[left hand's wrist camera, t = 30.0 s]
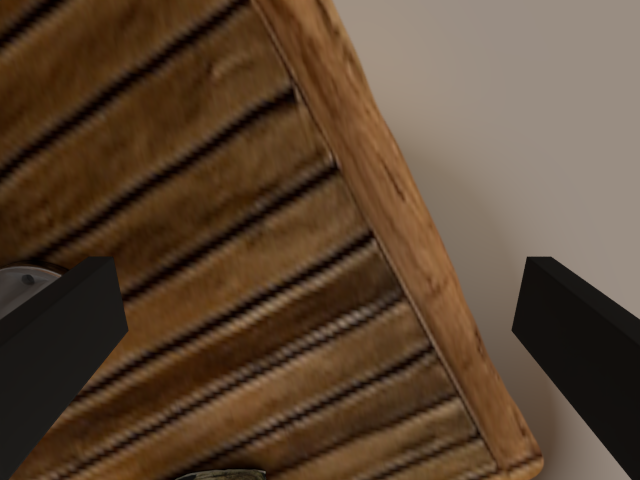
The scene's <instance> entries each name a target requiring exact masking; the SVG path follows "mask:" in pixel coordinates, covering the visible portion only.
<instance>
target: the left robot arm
mask: <svg viewBox="0 0 640 480" xmlns="http://www.w3.org/2000/svg"><path fill="white" fill-rule="evenodd" d="M127 332H128V326H127V321H126V316H125V312H124V307H123V302H122V297H121V292H120V288H119V283H118V278H117V273H116V269H115V264H114V259H113V257H88V258H86V259H85V260H83V261H82V262H81V263H79V264H78V265H76V266H75V267H74V268H72V269H71V270H69V271H68V270H66V269H64V268H62V267H59V266H56V265H53V264H49V263H45V262H38V261H22V262H16V263H12V264H9V265H6V266H4V267H2V268H0V480H8V479H9V478H10V477H11V476H12V475H13V473H14V472H15V471H16V470H17V468H18V467H19V466H20V465H21V463H22V462H23V461H24V460H25V458H26V457H27V456H28V455H29V453H30V452H31V451H32V450H33V448H34V447H35V446H36V445H37V444H38V442H39V441H40V440H41V439H42V437H43V436H44V435H45V434H46V432H47V431H48V430H49V429H50V427H51V426H52V425H53V424H54V422H55V421H56V420H57V419H58V417H59V416H60V415H61V414H62V412H63V411H64V410H65V409H66V408H67V406H68V405H69V404H70V403H71V401H72V400H73V399H74V398H75V396H76V395H77V394H78V393H79V391H80V390H81V389H82V388H83V386H84V385H85V384H86V383H87V381H88V380H89V379H90V378H91V376H92V375H93V374H94V373H95V372H96V370H97V369H98V368H99V367H100V365H101V364H102V363H103V362H104V360H105V359H106V358H107V357H108V355H109V354H110V353H111V352H112V350H113V349H114V348H115V347H116V345H117V344H118V343H119V342H120V340H121V339H122V338H123V337H124V336H125V334H126V333H127ZM512 332H513V333H514V334H515V335H516V337H517V338H518V339H519V340H520V342H521V343H522V344H523V345H524V347H525V348H526V349H527V350H528V352H529V353H530V354H531V355H532V357H533V358H534V359H535V360H536V362H537V363H538V364H539V365H540V367H541V368H542V369H543V370H544V372H545V373H546V374H547V375H548V376H549V378H550V379H551V380H552V381H553V383H554V384H555V385H556V386H557V388H558V389H559V390H560V391H561V393H562V394H563V395H564V396H565V398H566V399H567V400H568V401H569V403H570V404H571V405H572V406H573V408H574V409H575V410H576V411H577V412H578V414H579V415H580V416H581V417H582V419H583V420H584V421H585V422H586V424H587V425H588V426H589V427H590V429H591V430H592V431H593V432H594V434H595V435H596V436H597V437H598V438H599V440H600V441H601V442H602V443H603V445H604V446H605V447H606V448H607V450H608V451H609V452H610V453H611V455H612V456H613V457H614V458H615V460H616V461H617V462H618V463H619V465H620V466H621V467H622V468H623V470H624V471H625V472H626V473H627V475H628V476H629V477H630V478H631V479H632V480H640V319H638V318H637V317H635V316H634V315H633V314H631V313H630V312H628V311H627V310H626V309H624V308H623V307H621V306H620V305H619V304H617V303H616V302H614V301H613V300H611V299H610V298H609V297H607V296H606V295H604V294H603V293H602V292H600V291H599V290H597V289H596V288H595V287H593V286H592V285H590V284H589V283H588V282H586V281H585V280H583V279H582V278H580V277H579V276H578V275H576V274H575V273H573V272H572V271H571V270H569V269H568V268H566V267H565V266H564V265H562V264H561V263H559V262H558V261H557V260H555V259H554V258H552V257H527V259H526V264H525V269H524V273H523V278H522V283H521V288H520V292H519V298H518V302H517V307H516V312H515V316H514V321H513V326H512Z"/></svg>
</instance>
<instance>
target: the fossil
mask: <svg viewBox="0 0 640 480" xmlns="http://www.w3.org/2000/svg"><path fill="white" fill-rule="evenodd" d="M265 472H266V471H261V470H255V469H253V470H245V469H236V470H232V469H228V470H212V471H203V472H196V473H191V474H188V475H185V476H182V477H180V478H178V479H176V480H266V477H265Z"/></svg>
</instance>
